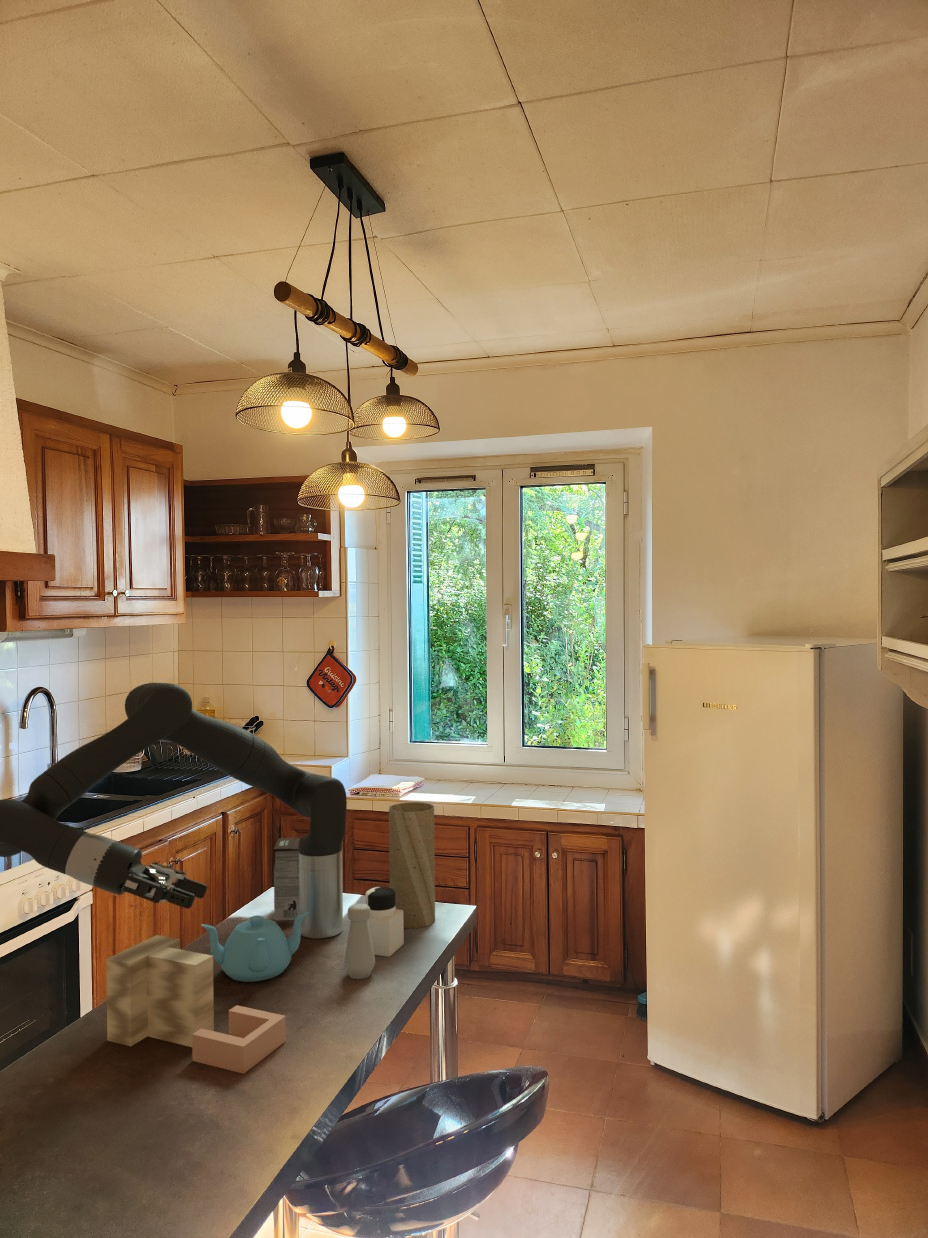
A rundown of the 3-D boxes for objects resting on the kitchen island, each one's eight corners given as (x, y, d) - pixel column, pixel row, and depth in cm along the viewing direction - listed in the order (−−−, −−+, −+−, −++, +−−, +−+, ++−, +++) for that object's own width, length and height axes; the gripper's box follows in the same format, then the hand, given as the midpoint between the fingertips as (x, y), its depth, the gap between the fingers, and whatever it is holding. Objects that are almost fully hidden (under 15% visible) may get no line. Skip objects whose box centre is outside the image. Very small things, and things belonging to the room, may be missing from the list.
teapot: (254, 950, 171) (253, 900, 171) (314, 964, 164) (313, 911, 164) (200, 978, 158) (199, 923, 158) (262, 994, 151) (261, 936, 151)
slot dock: (192, 1061, 128) (192, 1034, 128) (236, 1030, 138) (236, 1005, 138) (243, 1074, 124) (243, 1046, 124) (285, 1041, 134) (285, 1016, 134)
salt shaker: (378, 969, 161) (377, 901, 161) (372, 982, 155) (371, 911, 155) (348, 968, 161) (347, 900, 161) (340, 981, 156) (340, 910, 156)
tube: (384, 916, 189) (382, 805, 189) (425, 909, 193) (424, 800, 193) (399, 931, 180) (398, 814, 180) (442, 924, 184) (441, 809, 184)
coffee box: (278, 907, 196) (278, 837, 196) (306, 906, 197) (306, 837, 197) (273, 921, 187) (272, 848, 187) (302, 920, 188) (301, 847, 188)
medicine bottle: (404, 944, 173) (403, 886, 173) (390, 957, 166) (389, 897, 166) (372, 940, 175) (372, 882, 175) (357, 953, 169) (356, 893, 169)
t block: (107, 1040, 134) (106, 959, 134) (157, 1011, 145) (157, 935, 145) (180, 1059, 128) (179, 974, 128) (228, 1027, 139) (227, 948, 139)
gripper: (97, 846, 129) (198, 882, 129) (127, 835, 143) (218, 868, 143) (77, 894, 128) (179, 930, 128) (109, 878, 142) (200, 911, 142)
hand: (199, 897), depth 136 cm, fingers open, 8 cm apart
